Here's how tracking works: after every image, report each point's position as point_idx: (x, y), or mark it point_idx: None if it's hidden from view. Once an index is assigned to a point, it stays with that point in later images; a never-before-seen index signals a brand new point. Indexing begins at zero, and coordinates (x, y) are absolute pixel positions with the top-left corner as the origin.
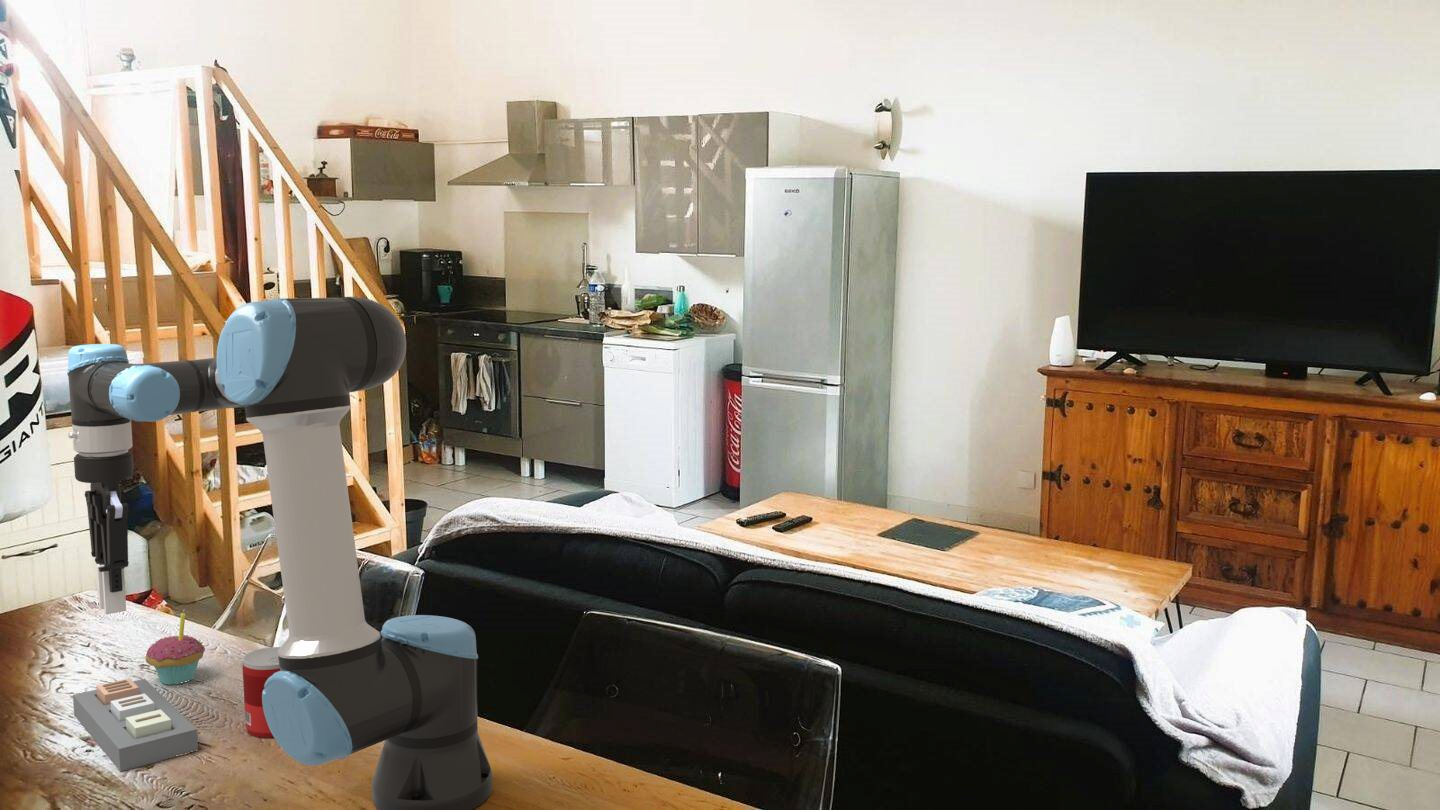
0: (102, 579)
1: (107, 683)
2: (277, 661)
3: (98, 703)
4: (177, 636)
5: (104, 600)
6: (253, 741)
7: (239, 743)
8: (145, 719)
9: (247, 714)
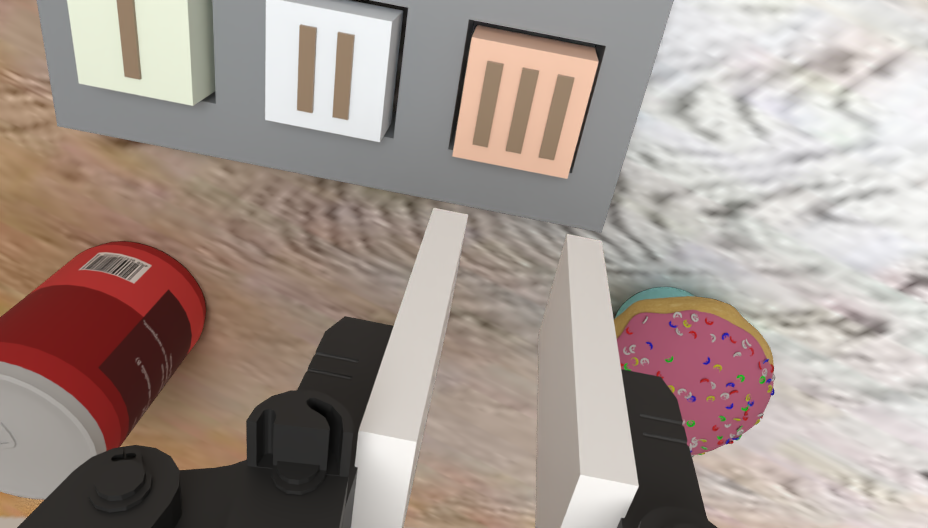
0: (568, 394)
1: (584, 101)
2: None
3: (504, 15)
4: (698, 431)
5: (439, 258)
6: (85, 225)
7: (92, 197)
8: (118, 21)
9: (98, 267)
